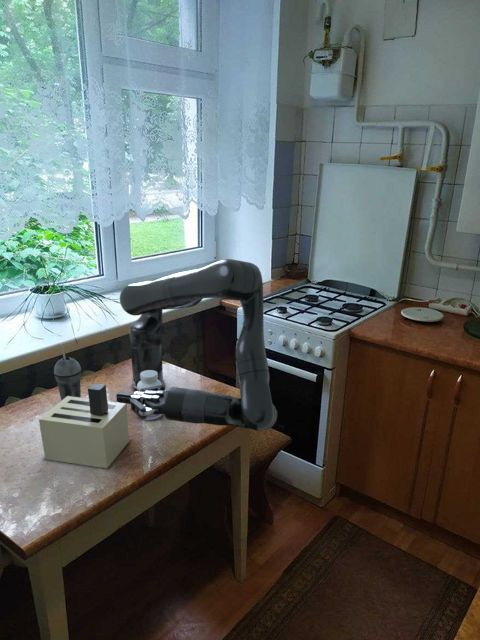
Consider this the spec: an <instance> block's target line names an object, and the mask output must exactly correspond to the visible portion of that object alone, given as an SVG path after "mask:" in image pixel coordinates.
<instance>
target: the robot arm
mask: <svg viewBox="0 0 480 640" xmlns="http://www.w3.org/2000/svg"><path fill="white" fill-rule="evenodd" d="M203 299H221V300H228V301H236V302H237V301H238V302H240V305H241V309H242V317H243V318H242V325H241V328H240V332H239V335H238V337H237V342H236V345H235V365H236V372H237V377H238V382H239V395H240V397H237V396H236V397H235V396H233V395H229V394H225V393H216V392H211V391H210V392H209V391H205V390H201V389H195V388H194V389H192V388H185V387H178V386H177V387H176V386H173V387H170V388H169V389H168V390H166V385H165V383H164V371H163V370H164V369H163V349H162V327H163V311H165V310H179V309H186V308H192V307H195V306H197V305H198V304H200V303H201V302H202V300H203ZM119 304H120V306H121V308H122V309H123V311H124V312H125V313H126V314H128V315H130V316H135V317H137V316H139V318H137V319H136V320H135V321H134V322H133V323H131V324H130V325H129V328H128V331H129V344H130V357H131V371H132V378H131V383H132V387H133V389H134V390H135V391H134V392H130V391H129V392H128V391H123V390H120V391H119V392H117V393H116V395H115V399H116V402H119V403H126V405H127V404H128V405H130V411H131V412H132V413H134V414H135V415H137V416H138V417H139V418H140V419H142V420H146V418H147V415H148V414H151V413H153V414H162V415H163V416H164V417H165V418H166V419H167V420H168V421H174V422H181V423H189V424H197V425H198V424H200V425H201V424H203V425H204V424H206V425H213V426H220V427H221V426H223V427H224V426H225V427H226V426H228V427H229V426H232V427H237V428H242V429H243V428H244V429H249V430H253V431H257V432H258V431H259V432H260V431H261V432H263V431H264V432H265V431H268V430H270V429H272V428H273V427H274V426H275V425H276V423H277V422H278V409H277V408H276V406H275V405H274V404H273V400H272V394H271V389H270V381H271V378H270V369H269V363H268V357H267V351H266V345H265V332H264V315H265V314H264V282H263V275H262V272H261V269H260V268H259V267H258V265H256V264H255V263H252V262H249V261H243V260H238V259H233V258H224V259H222V260H218V261H216V262H213V263H211V264H209V265H206V266H204V267H201V268H198V269H190V270H186V271H181V272H180V271H179V272H177V273H172V274H169V275H166V276H162V277H160V278H157V279H155V280H146V281H140V282H135V283H130V284H127V285H125V286H124V287H123V288H122V290H121V292H120V294H119ZM146 370H154V371H156V372H157V373H158V378H157V379H158V380H159V381H160V382H161V383H162V385H159V386H154V387H148V388H142V389H140V392H137V384H138V382H139V381H141V378H140V373H141V372H143V371H146Z"/></svg>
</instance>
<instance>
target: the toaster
mask: <svg viewBox="0 0 480 640" xmlns="http://www.w3.org/2000/svg"><path fill="white" fill-rule="evenodd" d="M107 403H108V411H107V412H106V413H105V414H104V415H103V416H99V415H91V414H90V405H89V398H87V397H86V398H85V397H81V398H79V397H71V396H67V397H65V398H64V399H63V400H62V401H59V402H58V403H57V404H55V405H54V406H53V407H52V408H50V410H48V411H47V412H46V413H44V414H43V415H42V416H40V418H39V419H38V424H39V429H40V435H41V442H42V449H43V454H44V455H43V456H44V459H45V460H47V461H55V462H61V463H67V464H75V465H80V466H87V467H88V466H89V467H94V468H102V469H108V468H109V467H110V466H111V465H112V463H114V461H115V460H116V459H117V457H119V455H120V454H121V452H122V451H123V450H124V449H125V447H126V446H127V445H128V444H129V443H130V434H129V421H128V419H129V418H128V408H127V404H126V403H119V402H117V401H110V400H107Z"/></svg>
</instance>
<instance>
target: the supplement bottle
mask: <svg viewBox="0 0 480 640" xmlns="http://www.w3.org/2000/svg"><path fill="white" fill-rule="evenodd" d="M140 378H141V381H139V382H138V384H137V390H136V392H140V389H142V388H148V387H154V386H159V385H162V383H161V382H160V381H159V380H158V379H157V378H158V373H157V372H156V371H154V370H146V371H143V372H141V373H140ZM162 415H163V414H153V413H151V414H148V415H147V418H146V419H145V420H146V421H154V420H156V419H159V418H161V417H162Z"/></svg>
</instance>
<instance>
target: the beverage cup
mask: <svg viewBox="0 0 480 640" xmlns="http://www.w3.org/2000/svg"><path fill="white" fill-rule="evenodd" d="M60 347H61V352H62V358H60V359H59V360H57V362H56V363H55V365H54V367H53V376H54V378H55V381H56V384H57V388H58V392H59V397H60V400H61V401H62V400H63V399H64V398H65V397H67V396H71V397H79V398H82V395H81V393H82V392H81V391H82V389H81V378H82V368H81V364H80V363H79V361H77V360H76V359H75V358H74V357H71V356H66V353H65V349H64V344H61V345H60ZM61 401H60V402H61Z"/></svg>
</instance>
